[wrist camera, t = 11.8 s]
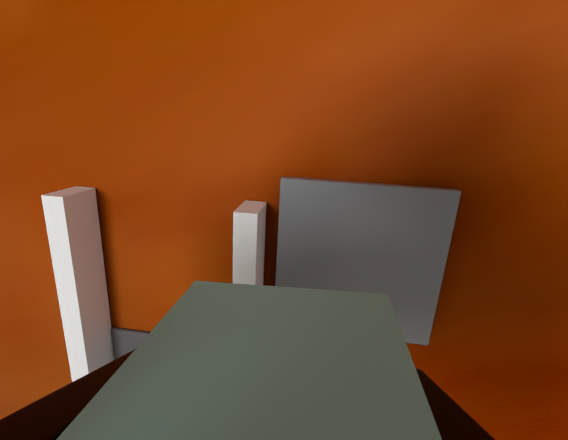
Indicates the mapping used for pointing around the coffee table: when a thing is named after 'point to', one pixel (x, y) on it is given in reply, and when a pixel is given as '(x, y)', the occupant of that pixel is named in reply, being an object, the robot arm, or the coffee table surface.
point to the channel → (92, 281)
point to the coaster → (368, 243)
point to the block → (265, 371)
